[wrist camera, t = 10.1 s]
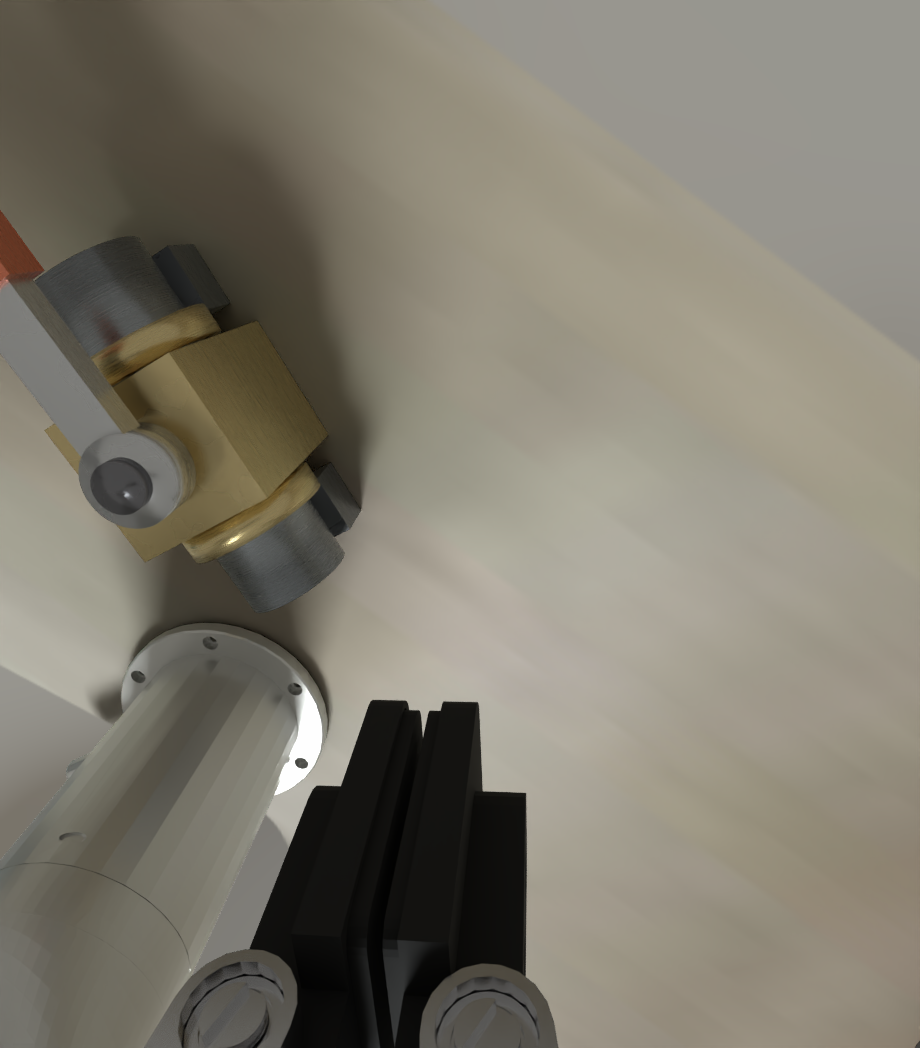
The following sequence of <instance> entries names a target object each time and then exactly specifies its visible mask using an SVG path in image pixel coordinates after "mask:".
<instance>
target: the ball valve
mask: <svg viewBox="0 0 920 1048" xmlns="http://www.w3.org/2000/svg"><path fill="white" fill-rule="evenodd" d="M35 283H36V285H37V286H38V287H39V289H40V290H41V291H42V293H43V294H44V296H45V297H46V298H47V300H48V301H49V302H50V304H51V305H52V306H53V308H54V309H55V310H56V312H57V313H58V314H59V316H60V317H61V319H62V320H63V321H64V323H65V324H66V325H67V327H68V328H69V329H70V331H71V332H72V333H73V335H74V336H75V338H76V339H77V340H78V342H79V343H80V344H81V346H82V347H83V348H84V350H85V351H86V352H87V354H88V355H89V356H90V358H91V359H92V361H93V362H94V363H95V365H96V366H97V367H98V369H99V370H100V371H101V373H102V374H103V375H104V377H105V378H106V380H107V381H108V382H109V384H110V385H111V386H112V388H113V389H114V390H115V392H116V393H117V394H118V396H119V397H120V398H121V400H122V401H123V403H124V404H125V405H126V407H127V408H128V409H129V411H130V412H131V413H132V415H133V416H134V417H135V419H136V420H137V422H145V423H152V424H156V425H159V426H161V427H163V428H165V429H167V430H169V431H170V432H172V433H173V434H174V435H176V436H177V437H178V438H179V439H180V440H181V441H182V442H183V443H184V445H185V446H186V447H187V449H188V450H189V452H190V454H191V456H192V458H193V461H194V464H195V468H196V483H195V487H194V490H193V492H192V494H191V496H190V497H189V498H188V499H187V500H186V501H185V502H184V503H183V504H182V505H181V506H179V507H178V508H177V509H176V510H174V511H173V512H172V513H171V514H169V515H168V516H167V517H166V518H164V519H163V520H162V521H161V522H159V523H158V524H156V525H154V526H151V527H148V528H142V529H133V528H126V527H122V526H119V525H117V524H116V525H117V526H118V528H119V529H120V530H121V532H122V533H123V534H124V536H125V537H126V538H127V539H128V541H129V542H130V543H131V545H132V546H133V547H134V549H135V550H136V551H137V553H138V554H139V555H140V557H141V558H142V559H143V560H144V562H147V561H149V560H151V559H152V558H154V557H156V556H158V555H160V554H162V553H164V552H166V551H168V550H170V549H171V548H173V547H175V546H177V545H179V544H181V543H182V544H183V545H184V547H185V548H186V549H187V551H188V552H189V553H190V555H191V556H192V557H193V559H194V560H195V562H196V563H198V564H201V563H206V562H209V561H212V560H214V559H217V560H218V561H219V563H220V564H221V566H222V567H223V568H224V570H225V571H226V573H227V574H228V575H229V577H230V578H231V579H232V581H233V582H234V584H235V585H236V586H237V588H238V589H239V591H240V592H241V593H242V595H243V596H244V597H245V599H246V600H247V602H248V603H249V604H250V606H251V607H252V608H253V610H254V611H255V612H256V613H264V612H268V611H271V610H274V609H277V608H279V607H281V606H283V605H285V604H287V603H289V602H291V601H293V600H295V599H296V598H298V597H300V596H301V595H303V594H304V593H306V592H307V591H309V590H310V589H312V588H313V587H314V586H316V585H317V584H318V583H320V582H321V581H322V580H323V579H325V578H326V577H327V576H328V575H329V574H330V573H331V572H332V571H333V570H334V569H335V568H336V567H337V566H338V565H339V564H340V562H341V561H342V559H343V557H344V551H343V549H342V548H341V546H340V545H339V543H338V542H337V540H336V539H335V536H337V535H339V534H341V533H343V532H345V531H347V530H349V529H350V528H351V526H352V525H353V523H354V521H355V520H356V518H357V516H358V515H359V513H360V511H361V509H360V508H359V506H358V505H357V503H356V501H355V500H354V498H353V497H352V495H351V494H350V492H349V490H348V489H347V487H346V486H345V484H344V482H343V481H342V479H341V478H340V476H339V474H338V473H337V471H336V470H335V468H334V467H333V465H332V463H329V464H327V465H325V466H323V467H321V468H319V469H317V470H315V471H314V472H312V470H311V469H310V467H309V466H308V464H307V462H305V461H304V460H305V458H306V457H307V456H308V455H309V454H310V453H311V452H312V451H313V450H314V449H315V448H316V447H317V446H318V445H319V444H320V443H321V442H322V441H323V440H324V439H325V438H326V437H327V436H328V433H327V432H326V430H325V428H324V427H323V425H322V424H321V422H320V420H319V419H318V417H317V416H316V414H315V412H314V411H313V409H312V408H311V406H310V404H309V403H308V401H307V400H306V398H305V396H304V395H303V393H302V391H301V390H300V388H299V387H298V385H297V383H296V382H295V380H294V379H293V377H292V375H291V374H290V372H289V371H288V369H287V367H286V366H285V364H284V363H283V361H282V359H281V358H280V356H279V355H278V353H277V351H276V350H275V348H274V347H273V345H272V343H271V342H270V340H269V339H268V337H267V335H266V334H265V332H264V331H263V329H262V327H261V326H260V324H259V323H258V321H255V322H252V323H249V324H246V325H244V326H241V327H238V328H235V329H233V330H230V331H227V332H224V333H221V334H219V335H217V334H218V333H219V332H220V331H221V329H220V327H219V326H218V324H217V323H216V321H215V319H214V318H213V316H212V314H214V313H215V312H217V311H219V310H220V309H222V308H223V307H225V306H226V305H228V304H230V302H229V300H228V299H227V297H226V295H225V294H224V292H223V291H222V289H221V287H220V286H219V284H218V283H217V281H216V280H215V278H214V276H213V275H212V273H211V272H210V270H209V268H208V267H207V265H206V264H205V262H204V260H203V259H202V257H201V256H200V254H199V253H198V251H197V249H196V248H195V246H194V245H193V244H188V245H174V246H167V247H165V248H164V249H162V250H161V251H160V252H158V253H157V254H155V255H154V256H152V257H151V256H150V254H149V253H148V251H147V250H146V248H145V246H144V245H143V243H142V242H141V240H140V239H139V238H138V237H135V236H128V237H122V238H117V239H113V240H110V241H107V242H104V243H101V244H99V245H96V246H94V247H91V248H89V249H87V250H84V251H82V252H80V253H78V254H76V255H74V256H72V257H70V258H68V259H67V260H65V261H63V262H61V263H60V264H58V265H56V266H55V267H53V268H52V269H50V270H49V271H47V272H46V273H44V274H43V275H42V276H40V277H39V278H38V279H37V280H36V281H35ZM44 431H45V432H46V433H47V434H48V436H49V437H50V438H51V440H52V441H53V442H54V444H55V445H56V446H57V448H58V449H59V450H60V452H61V453H62V454H63V455H64V457H65V458H66V459H67V461H68V462H69V463H70V465H71V466H72V467H73V469H74V470H75V471H76V473H77V474H78V475H79V472H78V469H79V463H80V459H81V456H80V455H79V454H78V453H77V451H76V450H75V449H74V447H73V446H72V445H71V444H70V442H69V441H68V440H67V438H66V437H65V436H64V435H63V433H62V432H61V431H60V429H59V428H58V427H57V426H56V424H54V425H52V426H50V427H49V428H47V429H46V430H44Z"/></svg>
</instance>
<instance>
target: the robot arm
mask: <svg viewBox="0 0 920 1048" xmlns="http://www.w3.org/2000/svg"><path fill="white" fill-rule="evenodd" d="M121 704H122V712H123V714H122V715H121V717H120V718H119V719H118V720H117V721H116V723H115V724H114V725H113V726H112V727H111V729H110V730H109V731H108V732H107V733H106V735H105V736H104V737H103V738H102V739H101V741H100V742H99V743H98V744H97V745H96V747H95V748H94V749H93V750H92V752H91V753H89V754H87V755H84V756H82V757H80V758H78V759H76V760H73V761H72V762H71V763H70V764H69V765H68V767H67V771H66V776H67V781H66V782H65V784H64V785H63V786H62V787H61V788H60V790H59V791H58V792H57V793H56V794H55V795H54V797H53V798H52V799H51V800H50V801H49V803H48V804H47V805H46V806H45V807H44V809H43V810H42V811H41V812H40V813H39V815H38V816H37V817H36V818H35V819H34V821H33V822H32V823H31V824H30V825H29V827H28V828H27V829H26V830H25V831H24V832H23V834H22V835H21V836H20V837H19V838H18V840H17V841H16V842H15V843H14V844H13V846H12V847H11V848H10V849H9V850H8V852H7V853H6V854H5V855H4V856H3V858H2V859H1V860H0V1048H558V1043H557V1037H556V1031H555V1025H554V1021H553V1018H552V1015H551V1012H550V1009H549V1006H548V1003H547V1001H546V999H545V998H544V996H543V995H542V993H541V992H540V991H539V989H538V988H537V986H536V985H535V984H534V983H533V982H531V981H530V980H529V979H528V978H526V887H527V829H526V793H512V792H483V789H482V766H481V742H480V719H479V705H478V702H443V704H442V708H441V711H429V714H428V718H427V722H426V727H425V732H424V736H423V735H422V722H421V714H420V711H419V710H409V706H408V703H407V701H396V700H372V701H371V702H370V704H369V706H368V709H367V712H366V715H365V718H364V721H363V724H362V727H361V730H360V733H359V736H358V738H357V741H356V744H355V747H354V750H353V753H352V756H351V759H350V762H349V765H348V768H347V771H346V773H345V776H344V779H343V782H342V785H341V786H316V787H315V788H314V789H313V790H312V792H311V794H310V796H309V798H308V801H307V803H306V806H305V809H304V811H303V814H302V816H301V819H300V821H299V824H298V826H297V829H296V832H295V834H294V837H293V839H292V842H291V844H290V847H289V849H288V852H287V855H286V857H285V860H284V862H283V865H282V868H281V870H280V872H279V876H278V877H277V880H276V883H275V885H274V888H273V890H272V893H271V895H270V898H269V901H268V903H267V906H266V908H265V911H264V913H263V916H262V918H261V921H260V923H259V926H258V928H257V931H256V934H255V936H254V939H253V941H252V944H251V947H250V949H248V950H247V949H245V950H240V951H236V952H232V953H228V954H225V955H223V956H221V957H219V958H217V959H215V960H213V961H211V962H209V963H207V964H206V965H205V966H203V967H202V968H201V969H200V970H199V971H197V972H196V973H195V974H194V975H193V976H192V974H193V972H194V970H195V968H196V965H197V963H198V961H199V959H200V957H201V954H202V952H203V950H204V948H205V946H206V943H207V941H208V939H209V937H210V935H211V932H212V930H213V928H214V926H215V924H216V921H217V919H218V917H219V915H220V913H221V910H222V908H223V906H224V904H225V902H226V900H227V897H228V895H229V893H230V891H231V888H232V886H233V884H234V882H235V880H236V878H237V876H238V873H239V871H240V869H241V867H242V864H243V862H244V860H245V858H246V856H247V854H248V851H249V849H250V847H251V845H252V843H253V840H254V838H255V836H256V834H257V832H258V829H259V827H260V825H261V823H262V821H263V819H264V816H265V814H266V812H267V810H268V808H269V805H270V803H271V801H272V799H273V797H274V795H277V794H280V793H282V792H284V791H286V790H288V789H290V788H292V787H294V786H296V785H297V784H298V783H299V782H301V781H302V780H303V779H304V778H306V777H307V775H308V774H309V773H310V772H311V770H312V769H313V768H314V766H315V765H316V763H317V761H318V758H319V756H320V754H321V752H322V750H323V746H324V743H325V740H326V736H327V722H328V719H327V714H326V708H325V703H324V701H323V698H322V696H321V693H320V691H319V688H318V686H317V685H316V683H315V682H314V680H313V679H312V677H311V676H310V674H309V673H308V671H307V670H306V669H305V668H304V667H303V666H302V665H301V664H300V663H299V662H298V660H297V659H296V658H295V657H294V656H292V655H291V654H290V653H288V652H287V651H286V650H285V649H283V648H282V647H281V646H279V645H278V644H276V643H274V642H273V641H271V640H269V639H267V638H265V637H264V636H262V635H260V634H257V633H254V632H252V631H249V630H246V629H243V628H241V627H236V626H231V625H226V624H221V623H196V624H189V625H183V626H179V627H177V628H174V629H171V630H168V631H165V632H164V633H162V634H161V635H159V636H157V637H156V638H154V639H153V640H151V641H150V642H149V643H148V644H147V645H146V646H145V647H144V648H143V649H142V650H141V651H140V652H139V653H138V654H137V656H136V657H135V658H134V660H133V661H132V662H131V664H130V665H129V666H128V669H127V671H126V674H125V676H124V679H123V683H122V690H121Z"/></svg>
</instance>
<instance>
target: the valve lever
mask: <svg viewBox="0 0 920 1048" xmlns="http://www.w3.org/2000/svg"><path fill="white" fill-rule="evenodd" d="M43 271H44V269H43V268H42V266H41V265H40V264H39V262H38V261H37V260H36V258H35V257H34V255H33V254H32V253H31V251H30V250H29V249H28V247H27V246H26V245H25V243H24V242H23V240H22V239H21V238H20V236H19V235H18V234H17V232H16V231H15V229H14V228H13V227H12V225H11V224H10V223H9V221H8V220H7V218H6V217H5V216H4V214H3V213H2V212H1V210H0V354H1V355H2V356H3V358H4V359H5V360H6V361H7V363H8V364H9V365H10V367H11V368H12V369H13V370H14V372H15V373H16V374H17V376H18V377H19V378H20V379H21V381H22V382H23V383H24V384H25V386H26V387H27V388H28V390H29V391H30V392H31V393H32V395H33V396H34V397H35V399H36V400H37V401H38V402H39V404H40V405H41V406H42V408H43V409H44V410H45V411H46V413H47V414H48V415H49V417H50V418H51V419H52V420H53V422H54V423H55V424H56V426H57V427H58V428H59V429H60V431H61V432H62V433H63V435H64V436H65V437H66V438H67V440H68V441H69V442H70V444H71V445H72V446H73V447H74V449H75V450H76V451H77V453H78V454H79V455H80V456H81V459H80V463H79V469H78V472H79V481H80V485H81V488H82V491H83V493H84V495H85V497H86V499H87V500H88V502H89V503H90V504H91V506H92V507H93V508H94V509H95V510H96V511H97V512H98V513H99V514H100V515H102V516H103V517H104V518H106V519H107V520H109V521H111V522H112V523H115V524H117V525H119V526H122V527H126V528H133V529H142V528H148V527H151V526H154V525H156V524H158V523H159V522H161V521H162V520H163V519H164V518H166V517H167V516H168V515H169V514H171V513H172V512H173V511H174V510H176V509H177V508H178V507H179V506H181V505H182V504H183V503H184V502H185V501H186V500H187V499H188V498H189V497H190V496H191V494H192V492H193V490H194V487H195V483H196V468H195V464H194V461H193V458H192V456H191V454H190V452H189V450H188V449H187V447H186V446H185V445H184V443H183V442H182V441H181V440H180V439H179V438H178V437H177V436H176V435H174V434H173V433H172V432H170V431H169V430H167V429H165V428H163V427H161V426H159V425H156V424H152V423H145V422H137V420H136V419H135V417H134V416H133V415H132V413H131V412H130V411H129V409H128V408H127V407H126V405H125V404H124V403H123V401H122V400H121V398H120V397H119V396H118V394H117V393H116V392H115V390H114V389H113V388H112V386H111V385H110V384H109V382H108V381H107V380H106V378H105V377H104V375H103V374H102V373H101V371H100V370H99V369H98V367H97V366H96V365H95V363H94V362H93V361H92V359H91V358H90V356H89V355H88V354H87V352H86V351H85V350H84V348H83V347H82V346H81V344H80V343H79V342H78V340H77V339H76V338H75V336H74V335H73V333H72V332H71V331H70V329H69V328H68V327H67V325H66V324H65V323H64V321H63V320H62V319H61V317H60V316H59V314H58V313H57V312H56V310H55V309H54V308H53V306H52V305H51V304H50V302H49V301H48V300H47V298H46V297H45V296H44V294H43V293H42V291H41V290H40V289H39V287H38V286H37V285H36V283H35V282H34V281H33V279H34V278H35V277H36V276H38V275H39V274H40V273H42V272H43Z"/></svg>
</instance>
